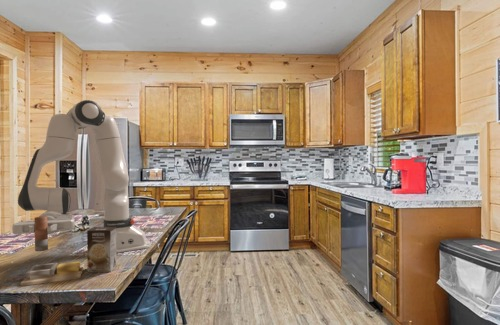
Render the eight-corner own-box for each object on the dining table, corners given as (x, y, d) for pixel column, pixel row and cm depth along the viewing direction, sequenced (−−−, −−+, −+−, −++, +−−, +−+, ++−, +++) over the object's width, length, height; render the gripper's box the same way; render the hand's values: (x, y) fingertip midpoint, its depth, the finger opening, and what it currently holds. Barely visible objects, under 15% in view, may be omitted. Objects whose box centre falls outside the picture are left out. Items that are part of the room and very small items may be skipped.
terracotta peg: (49, 247, 120) (48, 215, 120) (46, 250, 116) (46, 217, 116) (36, 249, 118) (36, 216, 118) (33, 251, 115) (33, 218, 115)
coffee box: (86, 272, 122) (85, 230, 121) (94, 266, 128) (93, 226, 128) (111, 271, 122) (110, 230, 122) (117, 266, 128) (116, 226, 128)
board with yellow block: (84, 266, 129) (84, 257, 129) (80, 278, 116) (79, 268, 116) (31, 272, 122) (31, 263, 122) (20, 286, 109) (20, 275, 109)
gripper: (18, 217, 125) (6, 223, 113) (76, 213, 133) (71, 219, 120) (18, 233, 125) (6, 241, 113) (77, 228, 133) (72, 235, 120)
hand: (40, 229), depth 116 cm, fingers closed on terracotta peg, 4 cm apart
